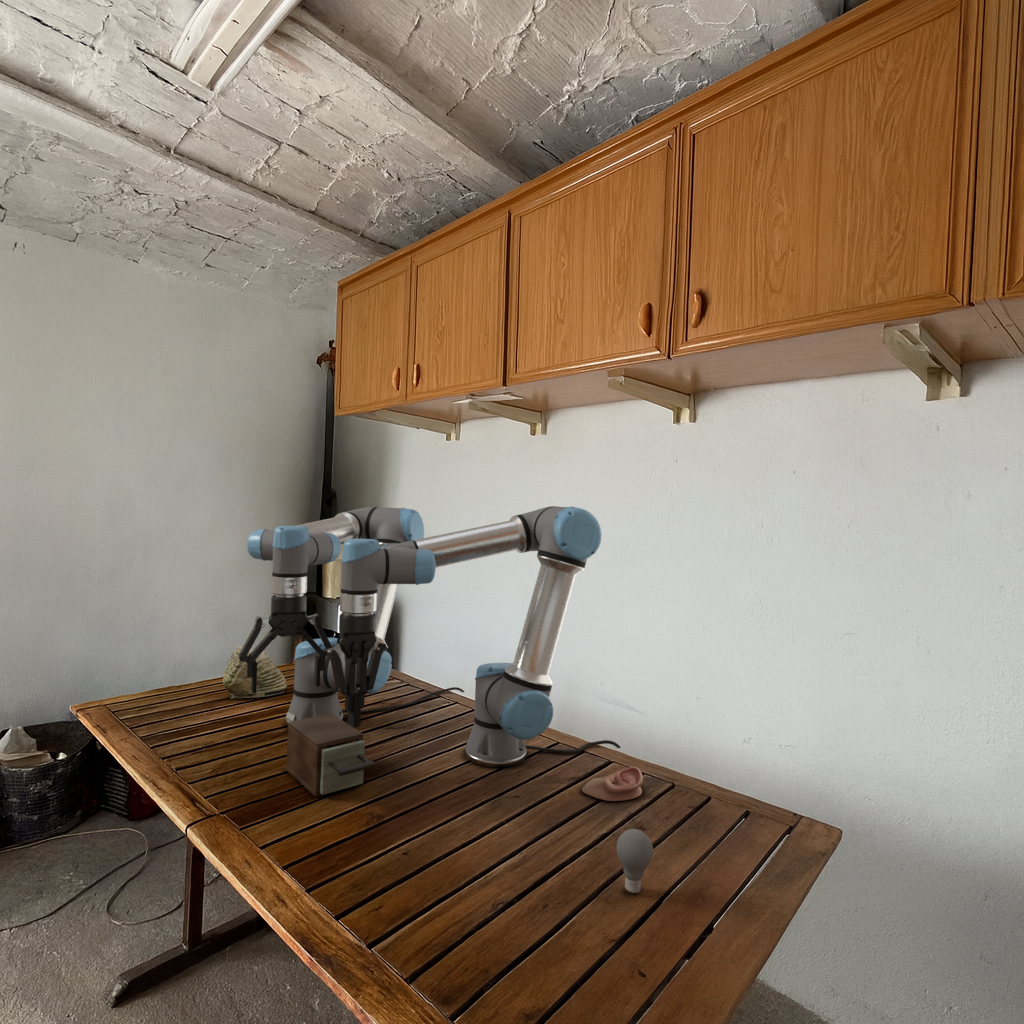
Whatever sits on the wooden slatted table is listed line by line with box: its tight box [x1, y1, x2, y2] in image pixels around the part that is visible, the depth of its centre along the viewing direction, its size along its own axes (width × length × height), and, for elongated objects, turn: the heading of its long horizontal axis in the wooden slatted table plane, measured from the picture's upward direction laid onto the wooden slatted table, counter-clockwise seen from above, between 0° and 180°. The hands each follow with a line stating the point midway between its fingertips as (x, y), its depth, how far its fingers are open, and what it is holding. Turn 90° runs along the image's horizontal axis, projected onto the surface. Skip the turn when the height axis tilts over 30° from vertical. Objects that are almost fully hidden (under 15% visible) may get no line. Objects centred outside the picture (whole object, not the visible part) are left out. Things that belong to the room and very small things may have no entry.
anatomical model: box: [581, 766, 644, 802], centre depth 142 cm, size 13×4×12 cm
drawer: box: [320, 739, 375, 796], centre depth 139 cm, size 21×9×9 cm, turn 41°
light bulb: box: [615, 828, 654, 894], centre depth 106 cm, size 6×6×10 cm
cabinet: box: [285, 713, 364, 797], centre depth 143 cm, size 16×11×11 cm, turn 41°
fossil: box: [222, 646, 288, 699], centre depth 198 cm, size 9×18×15 cm, turn 132°
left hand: (286, 688), depth 143 cm, fingers open, 13 cm apart
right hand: (353, 724), depth 133 cm, fingers closed
